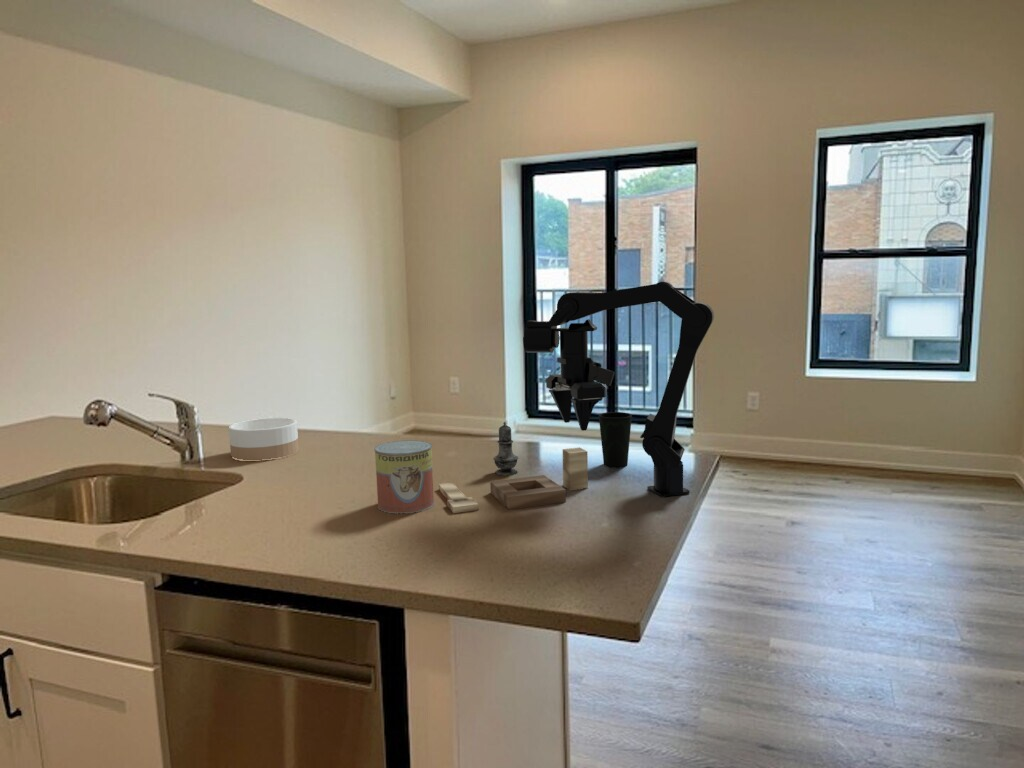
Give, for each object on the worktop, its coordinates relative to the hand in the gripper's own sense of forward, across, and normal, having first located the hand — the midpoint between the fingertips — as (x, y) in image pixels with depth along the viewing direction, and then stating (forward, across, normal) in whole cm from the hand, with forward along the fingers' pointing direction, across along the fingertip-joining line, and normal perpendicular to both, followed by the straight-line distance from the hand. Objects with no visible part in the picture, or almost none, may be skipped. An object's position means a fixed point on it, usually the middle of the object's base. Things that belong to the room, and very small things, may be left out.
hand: (575, 426), depth 153 cm
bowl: (+13, +61, +64) cm, 89 cm away
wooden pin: (+13, 0, 0) cm, 13 cm away
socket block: (+13, -4, +12) cm, 18 cm away
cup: (+13, +13, -15) cm, 24 cm away
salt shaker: (+13, +16, +11) cm, 24 cm away
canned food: (+13, +1, +36) cm, 39 cm away
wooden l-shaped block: (+13, +1, +26) cm, 29 cm away
